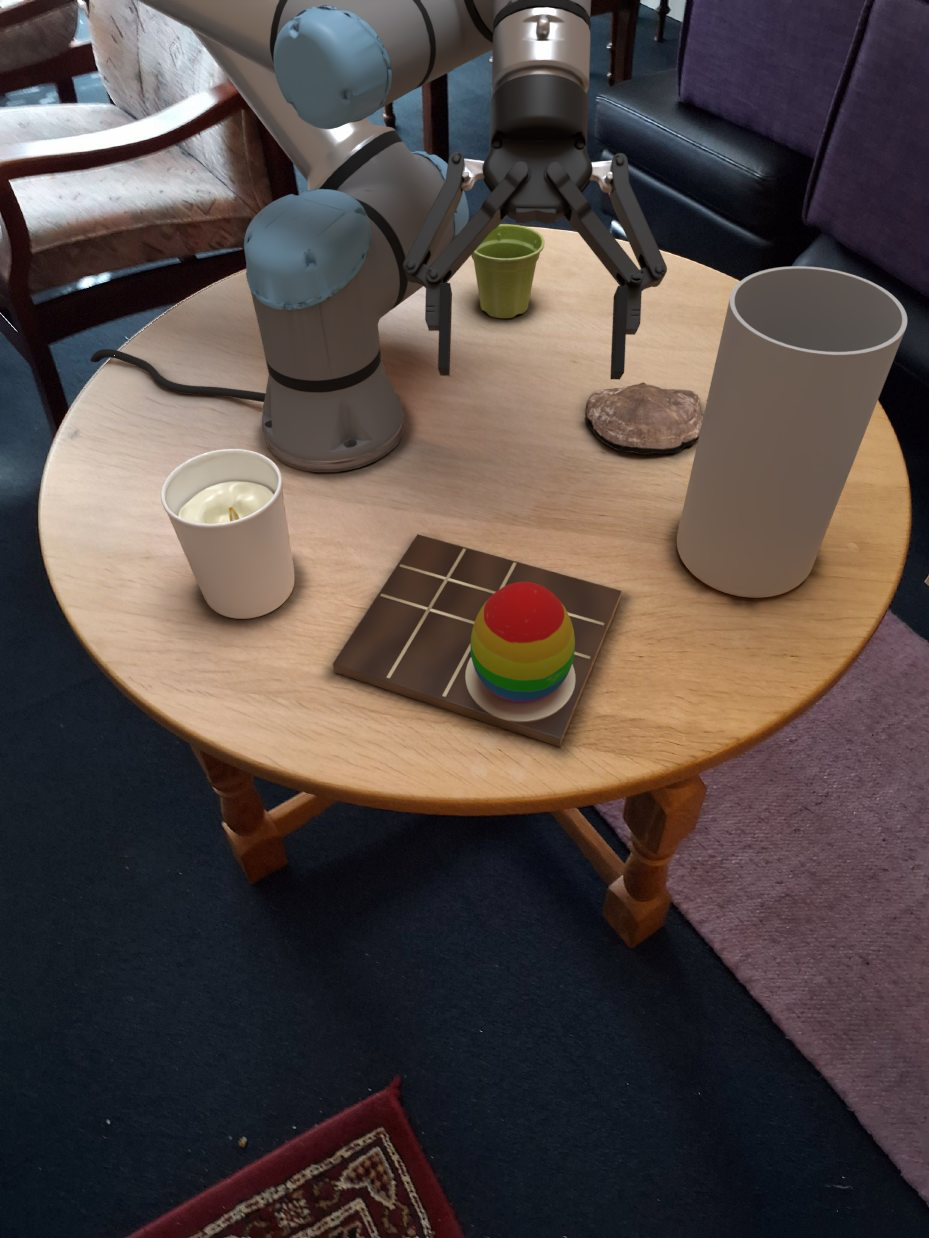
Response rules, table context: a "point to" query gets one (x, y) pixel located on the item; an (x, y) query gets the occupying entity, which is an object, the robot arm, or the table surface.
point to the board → (468, 635)
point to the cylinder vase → (784, 424)
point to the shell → (645, 418)
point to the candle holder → (233, 530)
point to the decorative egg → (522, 643)
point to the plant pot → (507, 269)
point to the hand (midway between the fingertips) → (530, 374)
